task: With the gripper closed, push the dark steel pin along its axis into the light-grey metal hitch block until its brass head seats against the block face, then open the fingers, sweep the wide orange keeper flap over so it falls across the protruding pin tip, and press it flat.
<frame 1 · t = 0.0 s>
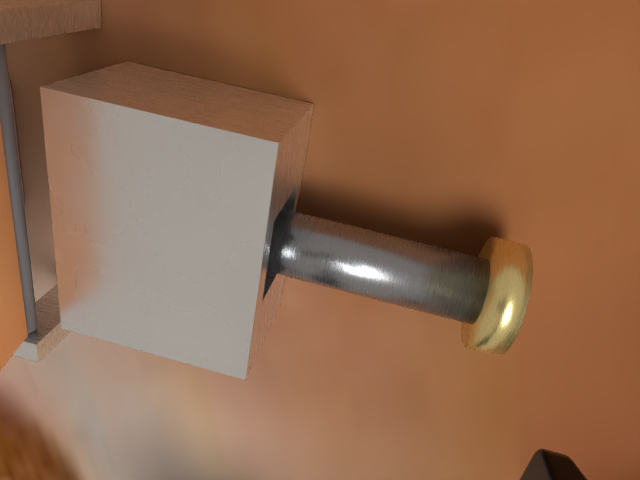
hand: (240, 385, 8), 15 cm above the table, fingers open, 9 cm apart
hitch block: (210, 193, 23), on the table
lynch pin: (343, 257, 21), point 3 cm above the table, slide at 0.0 cm
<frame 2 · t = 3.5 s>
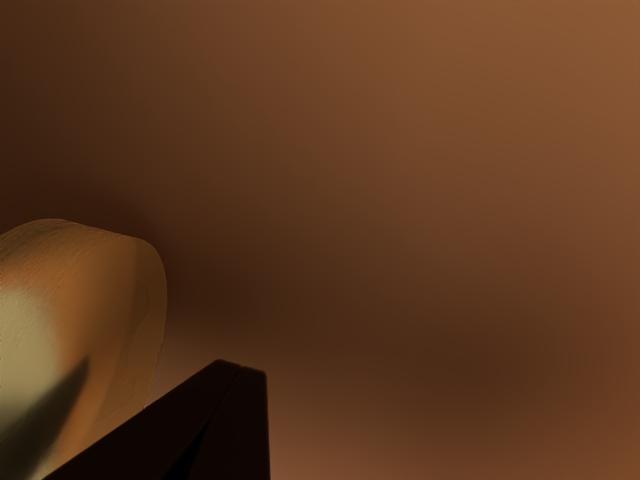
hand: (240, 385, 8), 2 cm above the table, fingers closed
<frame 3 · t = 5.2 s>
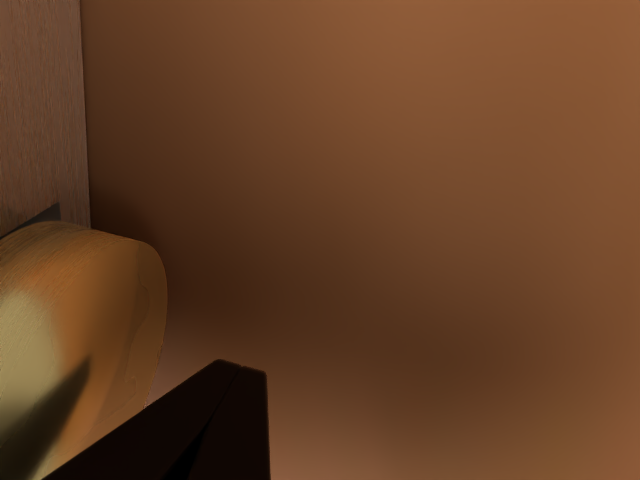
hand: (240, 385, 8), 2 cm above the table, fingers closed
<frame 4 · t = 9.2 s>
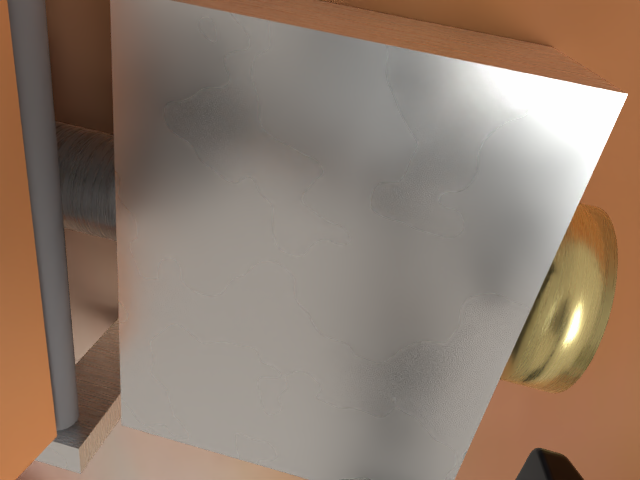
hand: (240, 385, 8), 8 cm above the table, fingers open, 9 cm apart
hitch block: (346, 199, 15), on the table
lynch pin: (295, 231, 13), point 3 cm above the table, slide at 7.5 cm
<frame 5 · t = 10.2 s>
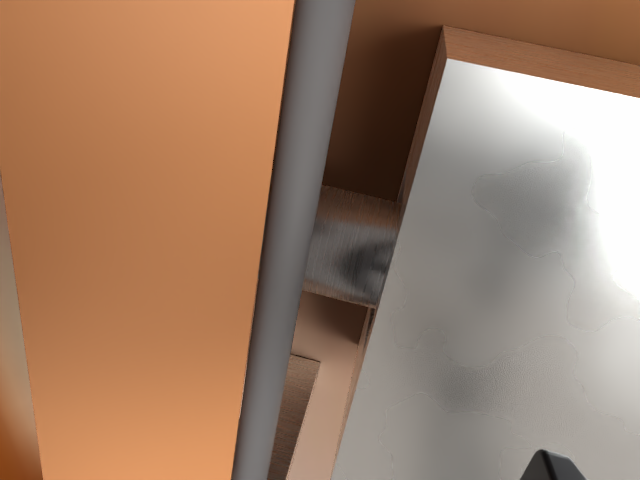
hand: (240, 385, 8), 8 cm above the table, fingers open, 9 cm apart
keeper flap: (174, 291, 10), point 6 cm above the table, hinge at 28.1°
hitch block: (535, 245, 14), on the table
lynch pin: (514, 287, 12), point 3 cm above the table, slide at 7.5 cm
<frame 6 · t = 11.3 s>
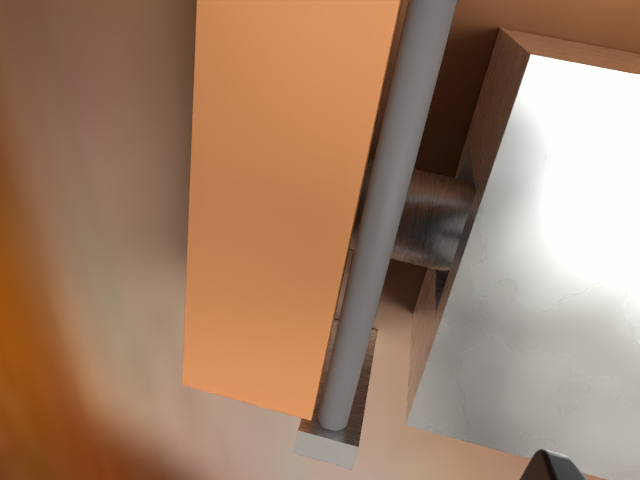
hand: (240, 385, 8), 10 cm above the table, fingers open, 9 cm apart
keeper flap: (291, 229, 13), point 5 cm above the table, hinge at -0.4°
hitch block: (576, 219, 16), on the table
lynch pin: (564, 251, 14), point 3 cm above the table, slide at 7.5 cm
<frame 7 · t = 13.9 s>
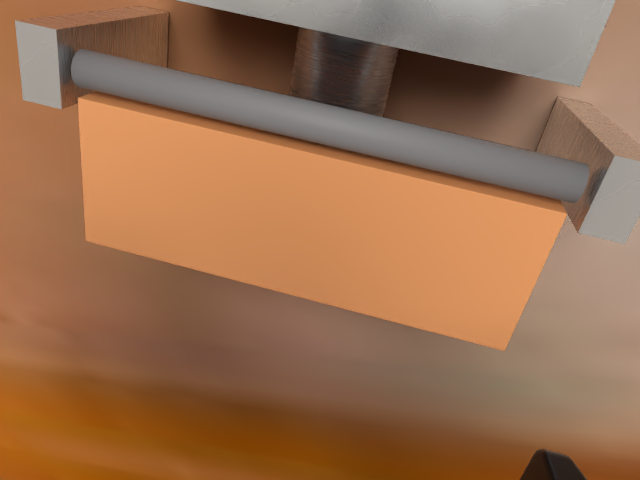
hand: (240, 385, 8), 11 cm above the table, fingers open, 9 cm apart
keeper flap: (305, 203, 13), point 5 cm above the table, hinge at -0.4°
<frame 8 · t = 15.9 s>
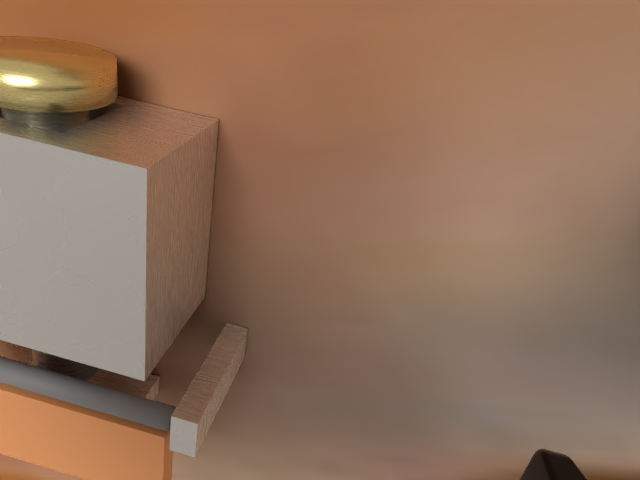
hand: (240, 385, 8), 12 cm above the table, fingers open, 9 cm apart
keeper flap: (32, 414, 21), point 5 cm above the table, hinge at -0.4°
hitch block: (95, 187, 21), on the table
lynch pin: (57, 234, 20), point 3 cm above the table, slide at 7.5 cm
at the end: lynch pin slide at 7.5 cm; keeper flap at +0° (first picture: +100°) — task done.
